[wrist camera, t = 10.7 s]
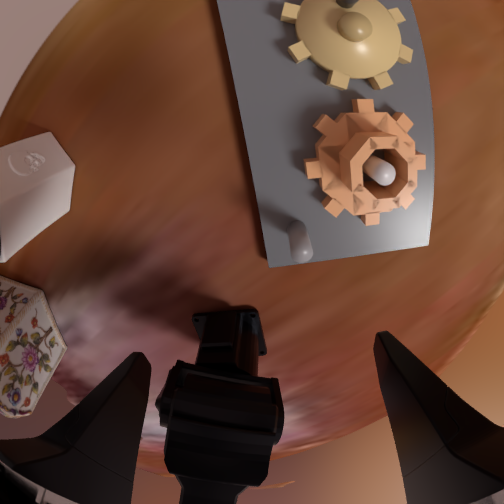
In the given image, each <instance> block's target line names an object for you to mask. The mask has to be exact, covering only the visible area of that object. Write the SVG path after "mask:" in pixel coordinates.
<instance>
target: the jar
mask: <svg viewBox="0 0 504 504" xmlns="http://www.w3.org/2000/svg"><path fill="white" fill-rule="evenodd" d="M74 172H75V164H74V163H73V162H72V160H71V159H70V158H69V156H68V155H67V154H66V152H65V151H64V150H63V148H62V147H61V146H60V144H59V143H58V141H57V140H56V139H55V137H54V136H53V134H52V133H51V132H46V133H42V134H39V135H36V136H32V137H29V138H26V139H23V140H20V141H17V142H14V143H11V144H8V145H5V146H3V147H0V263H4V262H6V261H7V260H8V259H9V258H11V257H12V256H13V255H14V254H15V253H16V252H17V251H19V250H20V249H21V248H22V247H23V246H24V245H26V244H27V243H28V242H29V241H30V240H32V239H33V238H34V237H35V236H37V235H38V234H39V233H40V232H42V231H43V230H44V229H46V228H47V227H48V226H49V225H51V224H52V223H53V222H55V221H56V220H57V219H59V218H60V217H62V216H63V215H64V214H66V213H67V212H69V210H70V203H71V194H72V185H73V178H74Z"/></svg>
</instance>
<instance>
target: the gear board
mask: <svg viewBox="0 0 504 504" xmlns="http://www.w3.org/2000/svg"><path fill="white" fill-rule="evenodd" d="M217 4H218V8H219V13H220V17H221V22H222V27H223V31H224V36H225V41H226V45H227V50H228V55H229V60H230V65H231V69H232V74H233V79H234V84H235V89H236V94H237V99H238V104H239V109H240V114H241V119H242V124H243V129H244V134H245V140H246V145H247V150H248V155H249V160H250V166H251V171H252V176H253V182H254V187H255V192H256V198H257V203H258V209H259V214H260V220H261V225H262V231H263V236H264V242H265V247H266V253H267V259H268V264H269V268H272V267H279V266H287V265H295V264H302V263H310V262H317V261H325V260H332V259H339V258H346V257H353V256H360V255H367V254H374V253H381V252H388V251H394V250H401V249H408V248H414V247H420V246H427V245H428V243H429V236H430V227H431V218H432V207H433V192H434V126H433V112H432V101H431V92H430V85H429V78H428V71H427V65H426V60H425V55H424V50H423V45H422V41H421V36H420V32H419V28H418V25H417V21H416V17H415V14H414V11H413V7H412V4H411V1H410V0H217ZM352 99H373V103H374V111H375V112H387V113H388V114H389V115H390V116H391V117H392V116H393V115H394V113H395V112H402V113H404V114H405V115H406V116H407V117H408V118H409V119H410V120H411V121H412V122H413V124H414V125H413V126H412V127H411V128H410V130H409V131H408V132H407V134H408V135H409V136H410V137H411V138H412V139H413V140H414V142H415V151H418V152H420V153H423V154H425V155H426V170H417V187H416V189H415V190H414V191H413V192H412V193H411V195H412V196H413V197H414V198H415V199H414V201H413V202H412V203H411V204H410V205H409V207H408V208H407V209H406V210H405V209H404V208H403V207H402V206H400V208H393V209H392V211H390V212H381V213H380V221H379V224H377V225H369V226H365V224H364V223H363V222H362V220H361V215H355V216H353V215H352V214H351V213H350V212H349V211H347V210H346V209H345V208H344V209H343V210H342V212H341V213H340V214H339V215H338V216H337V217H335V216H333V215H332V214H331V213H329V212H328V211H327V210H326V209H324V207H323V205H322V203H321V202H322V201H323V200H324V199H325V197H326V196H327V195H328V194H327V193H325V192H324V191H323V190H322V188H321V187H320V185H319V178H312V179H308V178H307V177H306V175H305V168H304V160H303V159H308V158H316V150H315V144H316V143H317V141H318V140H319V139H320V138H321V136H322V135H323V134H321V133H320V132H319V131H318V130H316V129H315V128H314V127H313V125H314V124H315V122H316V121H317V120H318V119H319V117H320V116H321V115H322V114H326V115H327V116H329V117H330V118H331V119H332V120H333V121H334V120H335V119H336V118H337V117H338V115H339V114H340V113H346V112H353V106H352ZM362 172H363V182H365V181H376V182H378V183H379V184H380V185H383V186H386V185H389V184H391V183H392V182H393V181H394V179H395V175H396V172H395V169H394V167H393V166H392V165H391V164H389V163H388V162H386V161H384V151H383V150H382V149H375V150H374V151H373V153H372V154H371V155H370V156H369V158H368V159H367V160H366V161H365V162H364V164H363V165H362Z"/></svg>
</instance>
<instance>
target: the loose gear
mask: <svg viewBox="0 0 504 504" xmlns="http://www.w3.org/2000/svg"><path fill="white" fill-rule="evenodd" d="M352 106H353V112H346V113H340V114H339V115H338V117H337V118H336V119H335V120H334V121H333V120H332V119H331V118H330V117H329V116H327V115H326V114H322V115H321V116H320V117H319V119H318V120H317V121H316V122H315V124H314V125H313V127H314V128H315V129H316V130H318V131H319V132H320V133H321V134H323V135H322V136H321V138H320V139H319V140H318V141H317V143H316V144H315V150H316V158H308V159H303V160H304V168H305V175H306V177H307V178H308V179H312V178H319V185H320V187H321V188H322V190H323V191H324V192H325V193H327V194H328V195H327V196H326V197H325V199H324V200H323V201H322V202H321V203H322V205H323V207H324V209H326V210H327V211H328V212H329V213H331V214H332V215H333V216H335V217H337V216H338V215H339V214H340V213H341V212H342V210H343V209H344V208H345V209H346V210H347V211H349V212H350V213H351V214H352V215H353V216H355V215H361V220H362V222H363V223H364V224H365V226H369V225H377V224H379V221H380V213H381V212H390V211H392V209H393V208H400V206H402V207H403V208H404V209H405V210H406V209H407V208H408V207H409V205H410V204H411V203H412V202H413V201H414V199H415V198H414V197H413V196H412V195H411V193H412V192H413V191H414V190H415V189H416V187H417V170H426V155H425V154H423V153H420V152H418V151H415V142H414V140H413V139H412V138H411V137H410V136H409V135H408V134H407V132H408V131H409V130H410V128H411V127H412V126H413V125H414V124H413V122H412V121H411V120H410V119H409V118H408V117H407V116H406V115H405V114H404V113H402V112H395V113H394V115H393V116H392V117H391V116H390V115H389V114H388V113H387V112H375V111H374V103H373V99H352ZM375 149H382V150H383V151H384V161H386V162H388V163H389V164H391V165H392V166H393V167H394V169H395V172H396V175H395V179H394V181H393V182H392V183H391V184H389V185H386V186H383V185H380V184H379V183H378V182H376V181H365V182H363V172H362V165H363V164H364V162H365V161H366V160H367V159H368V158H369V156H370V155H371V154H372V153H373V151H374V150H375Z"/></svg>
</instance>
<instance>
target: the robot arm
mask: <svg viewBox="0 0 504 504" xmlns="http://www.w3.org/2000/svg"><path fill="white" fill-rule="evenodd" d="M252 314H254V315H252ZM196 318H197V319H196ZM192 322H193V324H194V326H195V329H196V331H197V333H198V335H199V338H200V340H201V341H200V345H199V349H198V353H197V357H196V361H195V365H194V364H190V363H186V362H184V361H181V360H177V362H176V365H175V366H173V368H172V369H170V370H169V374H168V377H167V380H166V383H165V385H164V387H163V389H162V390H161V392H160V394H159V395H158V397H157V399H156V402H155V406H156V408H157V409H158V411H159V417H160V426H162V427H166V428H167V433H166V439H165V446H164V455H165V458H164V461H165V464H166V467H167V469H168V471H169V473H170V474H174V475H175V476H176V478H177V480H178V481H179V483H180V485H181V487H182V488H181V495H180V501H179V504H236V502H237V498H238V495H239V494H240V493H242V492H243V491H244V490H245V489H246V488H247V487H249V486H256V487H258V486H260V485H261V483H262V482H263V481H264V480H265V478H266V477H267V475H268V467H269V461H270V455H271V451H272V447H273V445H276V444H277V443H278V442H279V440H280V438H281V435H282V431H283V426H284V407H283V402H282V397H281V392H280V387H279V382H278V378H265V377H258V356H263V355H266V354H267V348H266V344H265V339H264V335H263V330H262V326H261V322H260V317H259V313H258V311H257V310H256V309H245V310H235V311H223V312H211V313H198V314H194V315H193V316H192ZM373 350H374V356H375V362H376V367H377V372H378V378H379V384H380V388H381V392H382V396H383V399H384V403H385V406H386V410H387V413H388V417H389V421H390V424H391V428H392V432H393V436H394V440H395V444H396V449H397V453H398V457H399V462H400V467H401V472H402V476H403V482H404V488H405V493H406V499H407V504H504V427H500V426H498V425H496V424H494V423H493V422H491V421H490V420H489V419H487V418H486V417H485V416H483V415H482V414H481V413H479V412H478V411H477V410H475V409H474V408H473V407H471V406H470V405H469V404H468V403H466V402H465V401H464V400H462V399H461V398H460V397H459V396H458V395H457V394H456V393H455V392H454V391H453V390H452V389H451V388H450V387H447V385H446V384H445V383H444V382H443V381H442V380H441V379H440V378H439V377H438V376H437V375H436V374H435V373H433V372H432V371H431V370H430V369H429V368H428V367H427V366H426V365H425V364H424V363H423V362H422V361H420V360H419V359H418V358H417V357H416V356H415V355H414V354H413V353H412V352H411V351H409V350H408V349H407V348H406V347H405V346H404V345H403V344H402V343H401V342H400V341H398V340H397V339H396V338H395V337H394V336H393V335H392V334H391V333H389V332H388V331H381V332H377V334H376V337H375V342H374V347H373ZM150 378H151V364H150V363H149V361H148V360H147V358H146V357H145V355H144V354H143V353H142V352H133V353H131V354H130V355H129V356H128V357H127V358H126V359H125V360H124V361H123V362H122V363H121V364H120V365H119V366H118V367H117V368H115V369H114V370H113V371H112V372H111V373H110V374H109V375H108V376H107V377H106V378H105V379H104V380H103V381H102V382H101V383H100V384H99V385H97V386H96V387H95V388H94V389H93V390H92V391H91V392H90V393H89V394H88V395H87V396H86V397H85V398H84V399H83V400H82V401H81V402H80V403H79V404H77V405H76V406H75V407H74V408H73V409H72V410H71V411H70V412H69V413H68V414H67V415H66V416H65V417H63V418H62V419H61V420H60V421H58V422H57V423H56V424H55V425H53V426H52V427H51V428H50V429H48V430H47V431H46V432H44V433H43V434H42V435H40V436H38V437H34V438H26V439H9V440H0V460H1V461H2V462H3V463H5V465H4V464H3V463H1V462H0V504H131V497H132V490H133V481H134V474H135V468H136V462H137V456H138V450H139V444H140V439H141V433H142V428H143V423H144V418H145V413H146V408H147V403H148V396H149V387H150Z"/></svg>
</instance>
